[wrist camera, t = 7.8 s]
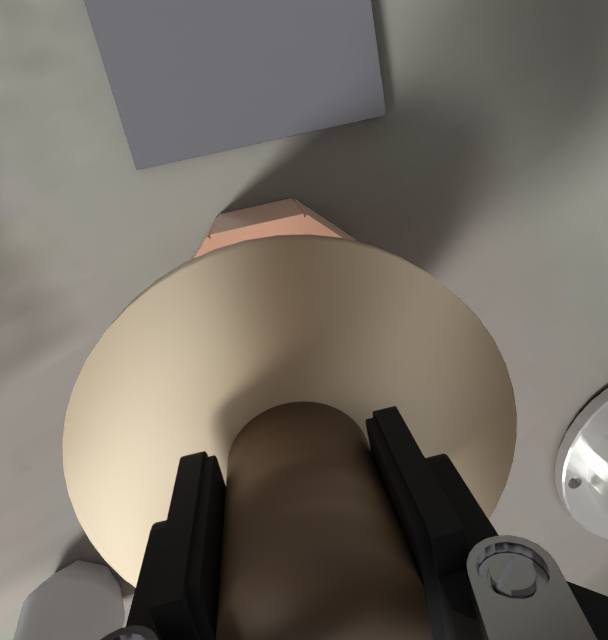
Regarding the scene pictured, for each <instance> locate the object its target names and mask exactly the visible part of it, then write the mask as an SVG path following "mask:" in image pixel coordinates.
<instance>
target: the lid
mask: <svg viewBox="0 0 608 640" xmlns="http://www.w3.org/2000/svg"><path fill="white" fill-rule="evenodd" d="M393 406H396V407H397V409H398V410H399V412H400V414H401V416H402V418H403V419H404V421H405V423H406V425H407V427H408V428H409V430H410V432H411V434H412V436H413V437H414V439H415V441H416V443H417V445H418V446H419V448H420V450H421V452H422V454H423V455H424V457H425V458H427V457H431V456H435V455H440V454H446V455H447V456H448V457H449V458H450V460H451V461H452V463H453V464H454V466H455V468H456V469H457V471H458V472H459V474H460V475H461V477H462V479H463V480H464V482H465V483H466V485H467V486H468V488H469V490H470V491H471V493H472V494H473V496H474V497H475V499H476V501H477V502H478V504H479V505H480V507H481V509H482V510H483V512H484V513H485V515H486V516H487V518H488V519H489V518H490V516H491V514H492V513H493V511H494V509H495V508H496V506H497V503H498V501H499V499H500V497H501V494H502V492H503V490H504V488H505V486H506V482H507V479H508V476H509V472H510V469H511V466H512V462H513V456H514V450H515V443H516V418H517V413H516V406H515V399H514V392H513V387H512V383H511V380H510V377H509V373H508V370H507V367H506V364H505V362H504V360H503V357H502V355H501V353H500V351H499V349H498V347H497V345H496V343H495V341H494V339H493V338H492V336H491V335H490V333H489V332H488V331H487V329H486V328H485V326H484V325H483V323H482V322H481V320H480V319H479V318H478V317H477V315H476V314H475V313H474V312H473V311H472V310H471V309H470V308H469V307H468V306H467V305H466V304H465V303H464V302H463V301H462V300H461V299H460V297H458V296H457V295H456V294H454V293H453V292H452V291H451V290H449V289H448V288H447V287H445V286H444V285H443V284H442V283H440V282H439V281H438V280H437V279H435V278H434V277H432V276H431V275H430V274H428V273H427V272H426V271H424V270H422V269H421V268H419V267H417V266H415V265H414V264H412V263H410V262H408V261H407V260H405V259H403V258H401V257H400V256H397V255H395V254H392V253H390V252H387V251H385V250H382V249H380V248H377V247H375V246H372V245H369V244H365V243H361V242H356V241H352V240H348V239H344V238H339V237H329V236H320V235H311V234H307V235H276V236H270V237H263V238H257V239H251V240H245V241H241V242H238V243H235V244H231V245H228V246H224V247H221V248H218V249H214V250H212V251H210V252H208V253H205V254H203V255H201V256H199V257H196V258H194V259H192V260H190V261H187V262H185V263H183V264H182V265H180V266H178V267H177V268H175V269H174V270H172V271H170V272H169V273H167V274H166V275H164V276H162V277H161V278H159V279H157V280H156V281H155V282H154V283H153V284H151V285H150V286H149V287H148V288H147V289H145V290H144V291H143V292H142V293H141V294H139V295H138V296H137V297H136V298H134V299H133V300H132V302H131V303H130V304H129V305H128V306H127V307H126V308H125V309H124V310H123V311H122V313H121V314H120V315H119V316H118V317H117V318H116V319H115V320H114V321H113V323H112V324H111V325H110V327H109V328H108V329H107V331H106V332H105V333H104V335H103V336H102V337H101V339H100V340H99V342H98V343H97V345H96V346H95V348H94V349H93V351H92V352H91V354H90V355H89V357H88V358H87V360H86V362H85V364H84V366H83V368H82V370H81V373H80V375H79V377H78V379H77V381H76V383H75V385H74V388H73V391H72V395H71V398H70V402H69V405H68V408H67V412H66V417H65V425H64V433H63V441H62V444H63V469H64V474H65V479H66V484H67V489H68V494H69V497H70V499H71V502H72V505H73V507H74V510H75V513H76V516H77V518H78V520H79V522H80V524H81V525H82V527H83V529H84V531H85V533H86V534H87V536H88V538H89V540H90V541H91V543H92V544H93V545H94V547H95V548H96V549H97V551H98V552H99V553H100V554H101V556H102V557H103V558H104V560H105V561H106V562H107V563H108V564H109V565H110V566H111V567H112V568H113V569H114V570H115V571H116V572H117V573H118V574H119V575H120V576H121V577H122V578H123V579H125V580H126V581H127V582H129V583H130V584H131V585H132V586H134V587H135V588H136V585H137V581H138V577H139V573H140V569H141V565H142V561H143V557H144V554H145V550H146V546H147V542H148V538H149V534H150V530H151V528H152V525H153V524H154V523H156V522H160V521H164V520H167V516H168V511H169V507H170V502H171V498H172V493H173V488H174V484H175V479H176V475H177V470H178V465H179V461H180V458H181V457H182V456H186V455H190V454H194V453H198V452H203V451H205V452H206V453H207V454H208V457H209V456H213V455H215V456H216V457H217V460H218V463H219V466H220V469H221V472H222V475H223V478H224V482H225V485H226V493H225V507H224V522H223V537H222V552H221V567H220V582H219V597H218V612H217V627H216V640H429V639H430V635H431V632H432V629H431V623H430V616H429V610H428V604H427V598H426V591H425V587H424V585H423V582H422V580H421V577H420V575H419V572H418V570H417V567H416V564H415V562H414V559H413V557H412V554H411V552H410V549H409V547H408V544H407V542H406V539H405V537H404V534H403V531H402V529H401V526H400V524H399V521H398V519H397V516H396V514H395V511H394V509H393V506H392V504H391V501H390V499H389V496H388V493H387V491H386V488H385V486H384V483H383V481H382V478H381V476H380V473H379V471H378V468H377V466H376V463H375V460H374V458H373V455H372V453H371V449H370V444H369V439H368V433H367V428H366V422H365V420H366V419H369V418H373V411H376V410H380V409H384V408H389V407H393Z"/></svg>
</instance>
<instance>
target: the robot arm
mask: <svg viewBox="0 0 608 640" xmlns="http://www.w3.org/2000/svg"><path fill="white" fill-rule="evenodd" d="M365 422H366V428H367V433H368V439H369V444H370V449H371V453H372V455H373V458H374V460H375V463H376V466H377V468H378V471H379V473H380V476H381V478H382V481H383V483H384V486H385V488H386V491H387V493H388V496H389V499H390V501H391V504H392V506H393V509H394V511H395V514H396V516H397V519H398V521H399V524H400V526H401V529H402V531H403V534H404V537H405V539H406V542H407V544H408V547H409V549H410V552H411V554H412V557H413V559H414V562H415V564H416V567H417V570H418V572H419V575H420V577H421V580H422V582H423V585H424V587H425V591H426V598H427V604H428V610H429V616H430V623H431V629H432V632H431V635H430V639H429V640H608V597H607V596H605V595H602V594H599V593H597V592H594V591H591V590H589V589H586V588H583V587H581V586H578V585H575V584H573V583H570V582H568V581H566V580H565V578H564V576H563V574H562V572H561V570H560V569H559V567H558V565H557V563H556V562H555V560H554V559H553V558H552V556H551V555H550V554H549V553H548V552H547V551H546V550H545V549H543V548H542V547H541V546H539V545H538V544H536V543H534V542H532V541H529V540H527V539H525V538H521V537H516V536H511V535H503V536H499V535H498V534H497V532H496V531H495V529H494V527H493V526H492V524H491V523H490V521H489V520H488V518H487V516H486V515H485V513H484V512H483V510H482V509H481V507H480V505H479V504H478V502H477V501H476V499H475V497H474V496H473V494H472V493H471V491H470V490H469V488H468V486H467V485H466V483H465V482H464V480H463V479H462V477H461V475H460V474H459V472H458V471H457V469H456V468H455V466H454V464H453V463H452V461H451V460H450V458H449V457H448V456H447V455H446V454H440V455H435V456H431V457H427V458H425V457H424V455H423V454H422V452H421V450H420V448H419V446H418V445H417V443H416V441H415V439H414V437H413V436H412V434H411V432H410V430H409V428H408V427H407V425H406V423H405V421H404V419H403V418H402V416H401V414H400V412H399V410H398V409H397V407H396V406H393V407H389V408H384V409H380V410H376V411H373V418H369V419H366V420H365ZM555 483H556V488H557V493H558V496H559V498H560V500H561V502H562V504H563V506H564V507H565V509H566V510H567V511H568V512H569V513H570V515H571V516H572V517H573V518H574V519H575V521H576V522H578V523H579V524H580V525H581V526H582V527H583V528H584V529H586V530H587V531H589V532H591V533H593V534H595V535H597V536H599V537H602V538H605V539H608V388H607V389H606V390H604V391H603V392H602V393H601V394H599V395H598V396H597V397H596V398H595V399H593V400H592V401H591V402H590V403H589V404H588V405H587V406H586V407H585V408H584V409H583V410H582V412H581V413H580V414H579V415H578V416H577V417H576V419H575V420H574V422H573V423H572V425H571V426H570V428H569V429H568V431H567V432H566V434H565V437H564V439H563V441H562V443H561V446H560V448H559V451H558V455H557V460H556V464H555ZM225 493H226V485H225V482H224V478H223V475H222V472H221V469H220V466H219V463H218V460H217V457H216V456H215V455H213V456H209V457H208V454H207V453H206V452H205V451H203V452H198V453H194V454H190V455H186V456H182V457H181V458H180V461H179V465H178V470H177V475H176V479H175V484H174V488H173V493H172V498H171V502H170V507H169V511H168V516H167V520H164V521H160V522H156V523H154V524H153V525H152V528H151V530H150V534H149V538H148V542H147V546H146V550H145V554H144V557H143V561H142V565H141V569H140V573H139V577H138V581H137V585H136V589H135V593H134V597H133V601H132V605H131V609H130V613H129V617H128V621H127V624H126V627H123V628H120V629H118V630H116V631H114V632H111V633H109V634H107V635H106V636H105V637H103V638H102V639H101V640H216V627H217V612H218V597H219V582H220V567H221V552H222V537H223V522H224V507H225Z"/></svg>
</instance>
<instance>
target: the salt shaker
mask: <svg viewBox="0 0 608 640" xmlns="http://www.w3.org/2000/svg"><path fill="white" fill-rule="evenodd" d="M124 617H125V610H124V605H123V600H122V594H121V589H120V585H119V584H118V582H117V581H116V579H115V577H114V576H113V574H112V573H111V571H110V569H109V568H108V566H105V565H100V564H95V563H90V562H85V561H80V560H77V561H75V562H74V563H72V564H70V565H68V566H67V567H65V568H63V569H61V570H60V571H58V572H56V573H54V574H53V575H52V576H51V577H50V578H49V579H47V580H46V581H45V582H43V583H42V584H41V585H40V586H39V587H38V588H36V589H35V590H34V591H33V592H32V593H31V594H30V595H29V596H28V597H27V598H26V600H25V601H24V602H23V606H22V610H21V613H20V617H19V621H18V624H17V628H16V632H15V635H14V639H13V640H101V639H102V638H103V637H105V636H106V635H107V634H109V633H111V632H114V631H116V630H118V629H120V628H122V625H123V622H124Z"/></svg>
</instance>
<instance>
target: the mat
mask: <svg viewBox="0 0 608 640" xmlns="http://www.w3.org/2000/svg"><path fill="white" fill-rule="evenodd" d="M84 2H85V6H86V9H87V12H88V15H89V19H90V22H91V25H92V28H93V31H94V35H95V38H96V41H97V44H98V48H99V51H100V54H101V57H102V60H103V64H104V67H105V70H106V73H107V77H108V80H109V83H110V86H111V89H112V93H113V96H114V99H115V102H116V106H117V109H118V112H119V115H120V118H121V122H122V125H123V128H124V131H125V135H126V138H127V141H128V144H129V147H130V151H131V154H132V157H133V160H134V164H135V167H136V170H139V169H144V168H148V167H153V166H157V165H162V164H166V163H171V162H175V161H180V160H185V159H189V158H194V157H198V156H203V155H207V154H212V153H216V152H221V151H225V150H230V149H235V148H239V147H244V146H248V145H253V144H257V143H262V142H266V141H271V140H276V139H280V138H285V137H289V136H294V135H298V134H303V133H307V132H312V131H316V130H321V129H326V128H330V127H335V126H339V125H344V124H348V123H353V122H357V121H362V120H367V119H371V118H376V117H380V116H385V115H386V108H385V100H384V93H383V86H382V78H381V71H380V64H379V56H378V49H377V42H376V35H375V27H374V20H373V13H372V5H371V0H84Z"/></svg>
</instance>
